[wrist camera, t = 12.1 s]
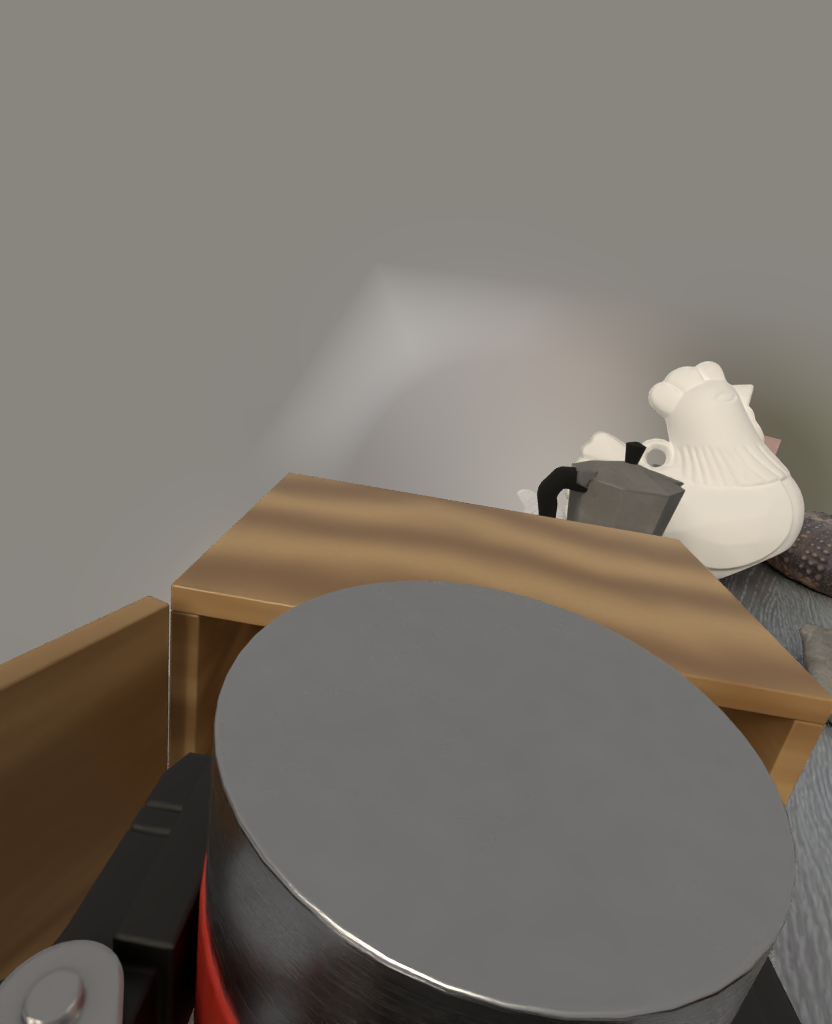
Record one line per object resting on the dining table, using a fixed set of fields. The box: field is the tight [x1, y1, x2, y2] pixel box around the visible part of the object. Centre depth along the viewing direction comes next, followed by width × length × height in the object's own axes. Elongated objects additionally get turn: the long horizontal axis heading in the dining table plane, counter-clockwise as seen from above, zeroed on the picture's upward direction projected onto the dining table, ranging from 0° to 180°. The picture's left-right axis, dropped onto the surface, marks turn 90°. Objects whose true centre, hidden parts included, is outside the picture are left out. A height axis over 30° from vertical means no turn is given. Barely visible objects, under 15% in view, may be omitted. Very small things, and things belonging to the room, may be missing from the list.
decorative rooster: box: [563, 361, 804, 579], centre depth 70 cm, size 25×16×25 cm
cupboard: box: [169, 473, 832, 807], centre depth 28 cm, size 14×22×16 cm, turn 86°
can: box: [194, 581, 796, 1024], centre depth 8 cm, size 6×6×10 cm
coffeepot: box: [537, 442, 685, 536], centre depth 50 cm, size 15×9×18 cm, turn 114°
